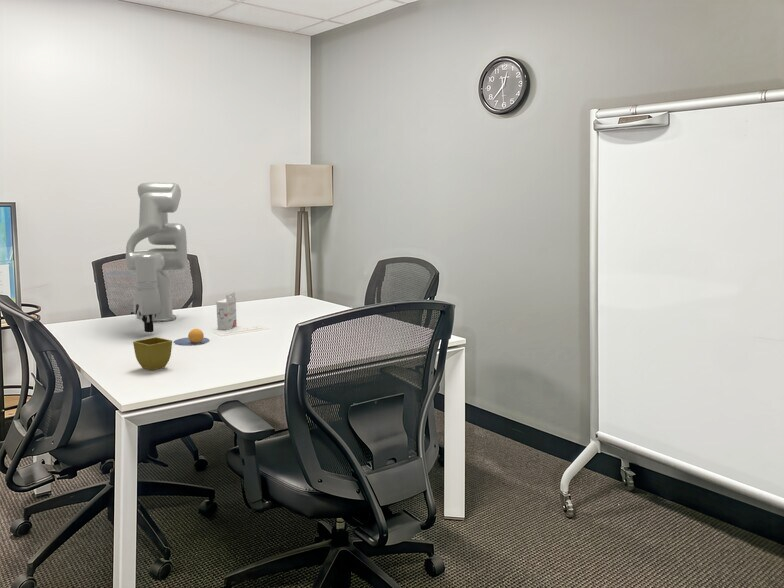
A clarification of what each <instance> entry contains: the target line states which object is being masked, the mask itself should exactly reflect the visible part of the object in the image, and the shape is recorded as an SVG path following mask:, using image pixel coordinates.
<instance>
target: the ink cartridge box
mask: <svg viewBox="0 0 784 588" xmlns="http://www.w3.org/2000/svg"><path fill="white" fill-rule="evenodd" d="M236 301H237V299H236V292H231V293H228V294H226V295H225V298H224V299H221V300H218V301H216V302H215V303H216V319H217V320H216V321H217V330H221V331H222V330H224V331H226V330H227V331H228V330H230V329H233V328H236V327H237V302H236Z"/></svg>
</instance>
